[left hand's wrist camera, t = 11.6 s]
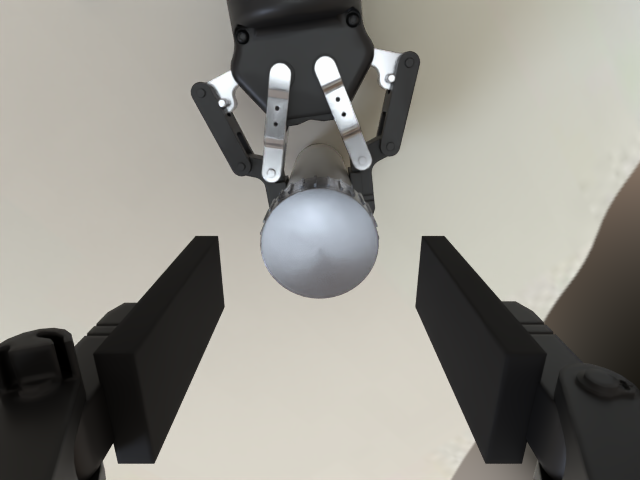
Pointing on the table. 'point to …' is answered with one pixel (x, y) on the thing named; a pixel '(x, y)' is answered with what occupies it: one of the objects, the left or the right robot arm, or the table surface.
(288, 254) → the lid
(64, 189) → the table surface
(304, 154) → the grey long cylinder
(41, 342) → the left robot arm
